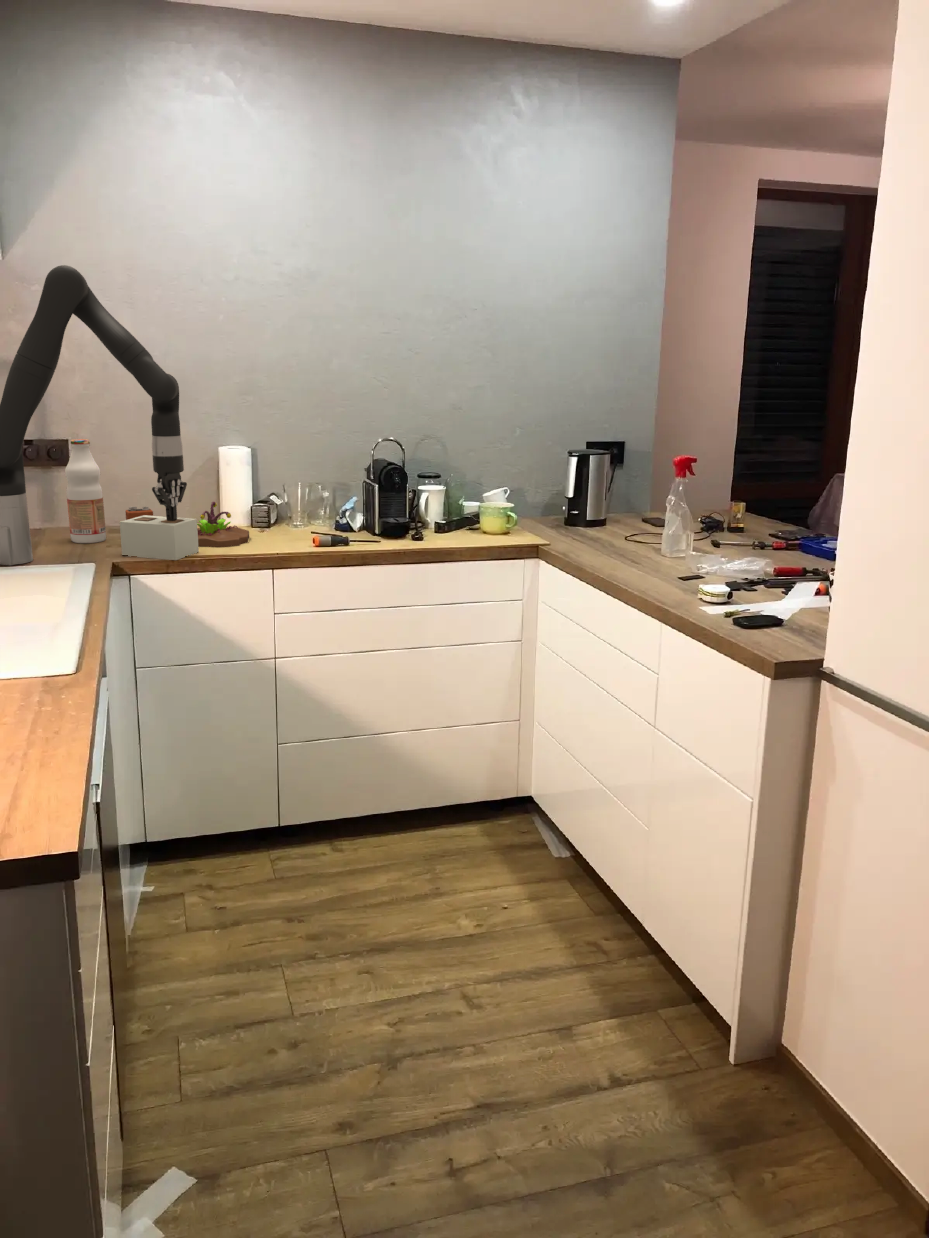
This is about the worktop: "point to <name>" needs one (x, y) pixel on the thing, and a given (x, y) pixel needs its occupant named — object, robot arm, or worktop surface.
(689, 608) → the worktop surface
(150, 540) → the socket block
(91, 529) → the fruit juice
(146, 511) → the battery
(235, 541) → the plant
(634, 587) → the worktop surface
